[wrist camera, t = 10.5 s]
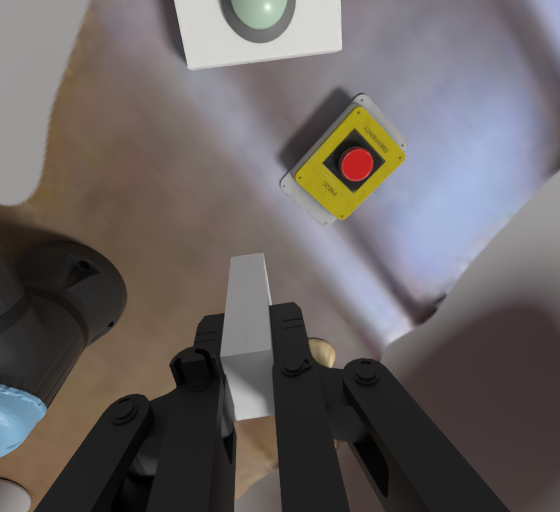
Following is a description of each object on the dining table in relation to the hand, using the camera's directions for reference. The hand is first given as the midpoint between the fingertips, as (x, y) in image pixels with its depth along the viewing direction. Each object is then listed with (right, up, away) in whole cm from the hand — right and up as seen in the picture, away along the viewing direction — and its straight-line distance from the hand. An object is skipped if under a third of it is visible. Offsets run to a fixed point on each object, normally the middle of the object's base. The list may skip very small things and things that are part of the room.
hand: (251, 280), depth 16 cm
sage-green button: (-1, +26, +16) cm, 30 cm away
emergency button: (+9, +13, +28) cm, 32 cm away
